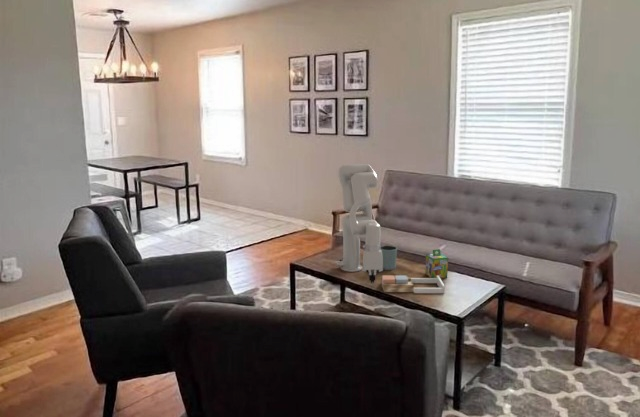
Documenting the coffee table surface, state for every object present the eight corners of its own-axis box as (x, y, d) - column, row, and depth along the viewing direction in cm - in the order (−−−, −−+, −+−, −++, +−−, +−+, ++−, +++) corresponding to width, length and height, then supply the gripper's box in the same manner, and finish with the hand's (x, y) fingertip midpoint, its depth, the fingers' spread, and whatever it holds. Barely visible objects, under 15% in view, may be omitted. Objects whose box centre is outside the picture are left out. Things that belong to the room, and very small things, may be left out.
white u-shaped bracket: (414, 293, 252) (414, 285, 251) (409, 282, 267) (409, 275, 266) (444, 293, 252) (444, 285, 251) (438, 282, 266) (438, 275, 265)
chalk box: (432, 279, 271) (433, 253, 268) (424, 274, 280) (425, 248, 277) (447, 277, 273) (449, 251, 270) (439, 272, 282) (440, 247, 279)
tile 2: (396, 286, 256) (396, 279, 255) (394, 281, 262) (394, 275, 261) (407, 286, 256) (408, 279, 255) (406, 281, 262) (406, 275, 261)
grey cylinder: (397, 270, 286) (398, 250, 283) (379, 270, 286) (380, 250, 284) (395, 264, 296) (395, 245, 293) (378, 264, 296) (378, 245, 293)
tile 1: (383, 285, 256) (383, 279, 256) (382, 281, 262) (382, 275, 262) (395, 286, 256) (395, 279, 256) (393, 281, 262) (393, 275, 261)
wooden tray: (383, 291, 254) (383, 285, 253) (381, 283, 266) (381, 277, 265) (413, 291, 253) (413, 285, 253) (410, 283, 265) (410, 277, 264)
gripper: (358, 249, 252) (358, 284, 256) (388, 249, 252) (387, 284, 255) (357, 245, 259) (357, 279, 263) (386, 245, 259) (386, 279, 263)
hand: (372, 281), depth 259 cm, fingers closed
